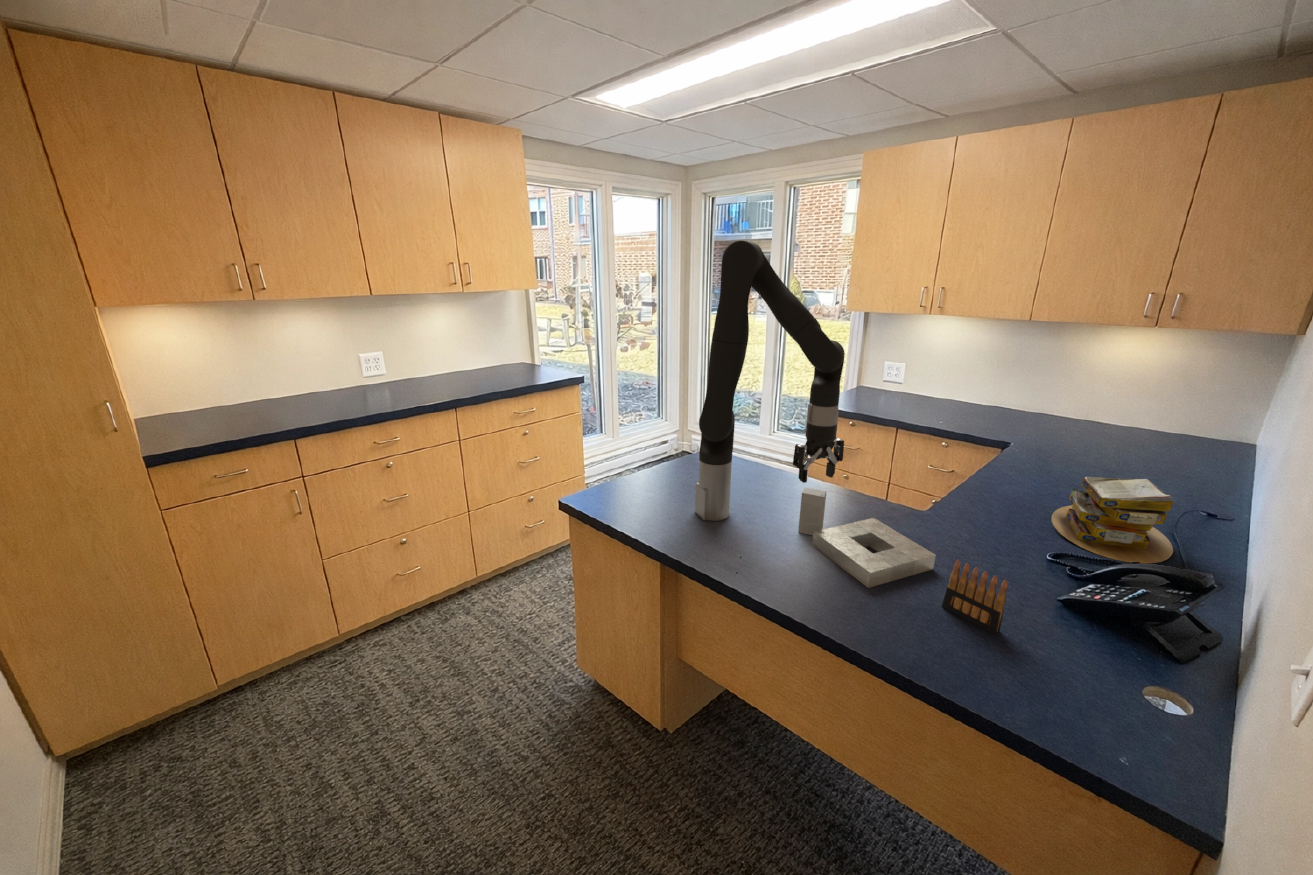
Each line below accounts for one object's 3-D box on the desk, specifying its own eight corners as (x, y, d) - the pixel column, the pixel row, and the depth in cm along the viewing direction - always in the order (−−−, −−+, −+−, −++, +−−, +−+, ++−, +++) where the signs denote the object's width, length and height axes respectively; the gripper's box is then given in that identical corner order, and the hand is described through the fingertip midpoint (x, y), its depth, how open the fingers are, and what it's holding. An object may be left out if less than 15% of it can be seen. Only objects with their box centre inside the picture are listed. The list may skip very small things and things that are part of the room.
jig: (868, 587, 116) (870, 572, 115) (812, 544, 134) (813, 531, 132) (932, 569, 123) (935, 554, 122) (871, 530, 141) (873, 517, 139)
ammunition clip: (941, 606, 110) (951, 558, 106) (945, 603, 111) (956, 555, 107) (995, 634, 102) (1009, 583, 98) (999, 630, 103) (1013, 580, 99)
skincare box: (822, 530, 141) (827, 490, 137) (820, 537, 137) (825, 497, 133) (800, 525, 143) (804, 486, 139) (797, 532, 140) (801, 492, 136)
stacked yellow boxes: (1185, 574, 121) (1210, 511, 115) (1056, 546, 133) (1073, 488, 127) (1154, 529, 141) (1174, 474, 136) (1044, 508, 153) (1059, 457, 147)
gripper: (808, 428, 124) (803, 489, 129) (854, 421, 129) (847, 479, 134) (789, 420, 131) (785, 478, 136) (834, 413, 136) (828, 469, 141)
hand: (816, 479), depth 135 cm, fingers open, 8 cm apart
